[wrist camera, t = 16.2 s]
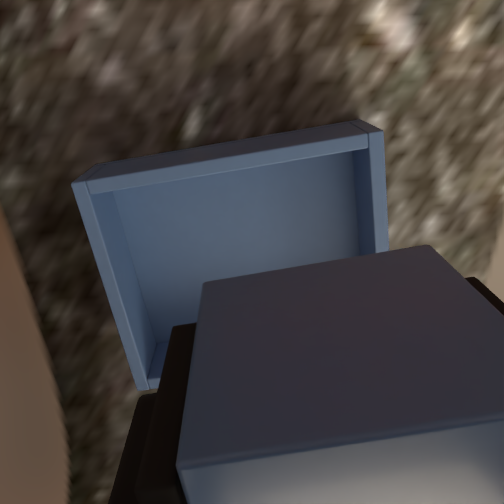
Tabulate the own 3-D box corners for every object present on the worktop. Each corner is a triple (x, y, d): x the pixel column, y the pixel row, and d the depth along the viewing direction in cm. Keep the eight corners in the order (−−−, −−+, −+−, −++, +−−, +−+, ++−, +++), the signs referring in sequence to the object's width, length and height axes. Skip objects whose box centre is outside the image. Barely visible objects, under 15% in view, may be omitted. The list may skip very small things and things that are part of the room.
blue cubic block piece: (241, 450, 11) (245, 693, 7) (201, 280, 9) (173, 466, 5) (433, 420, 11) (559, 650, 7) (429, 242, 9) (598, 401, 5)
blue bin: (149, 348, 25) (136, 392, 22) (95, 163, 21) (69, 183, 18) (373, 313, 25) (394, 352, 21) (360, 118, 21) (383, 129, 17)
